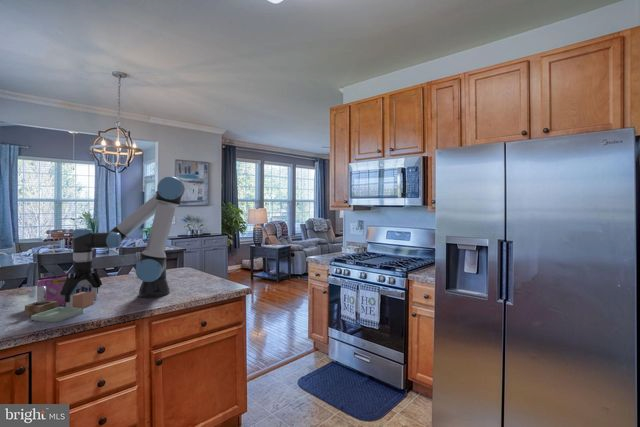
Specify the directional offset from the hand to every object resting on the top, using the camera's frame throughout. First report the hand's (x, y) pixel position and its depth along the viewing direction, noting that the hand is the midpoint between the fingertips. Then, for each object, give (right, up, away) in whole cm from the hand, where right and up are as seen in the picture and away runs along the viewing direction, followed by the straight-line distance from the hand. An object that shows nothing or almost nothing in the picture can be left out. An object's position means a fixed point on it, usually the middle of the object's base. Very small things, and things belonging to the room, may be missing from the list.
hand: (82, 304), depth 158 cm
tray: (0, -1, -15) cm, 15 cm away
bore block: (-10, -1, -11) cm, 15 cm away
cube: (0, -1, 0) cm, 1 cm away
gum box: (-11, -1, +6) cm, 13 cm away
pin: (-10, -1, -11) cm, 15 cm away
